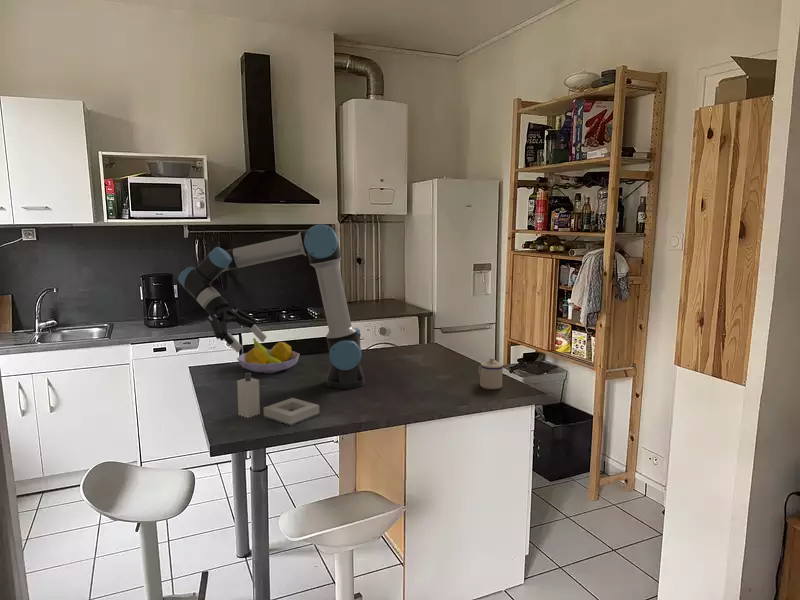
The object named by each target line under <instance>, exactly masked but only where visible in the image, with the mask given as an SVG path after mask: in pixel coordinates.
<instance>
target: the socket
mask: <svg viewBox="0 0 800 600" xmlns="http://www.w3.org/2000/svg"><path fill="white" fill-rule="evenodd" d="M317 415H319V416H320V405H319V404H316V403H312V402H309V401H307V400H306V401H305V400H302V399H298V398H295V397H291V398H288V399H286V400H285V399H284V400H282V401H279V402H276V403H272V404H270V405H268V406H264V407H263V418H264V419H266V418H267V420H269V419H270V421H272V420H274V421H273V422H275V421H277V422H276V423H278V422H280V423H279V424H281V423H284V424H287V425H290V426H291V425H294V424H296V423H299V422H301V423H303V422H302V421H304V420H306V419H309V418H311V417H314V416H316V417H318V416H317ZM314 418H315V417H314ZM311 419H312V418H311ZM309 420H310V419H309ZM306 421H307V420H306ZM304 422H305V421H304ZM284 424H283V425H284ZM299 424H300V423H299ZM287 425H286V426H287ZM296 425H297V424H296ZM290 426H289V427H290ZM294 426H295V425H294ZM291 427H292V426H291Z"/></svg>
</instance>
